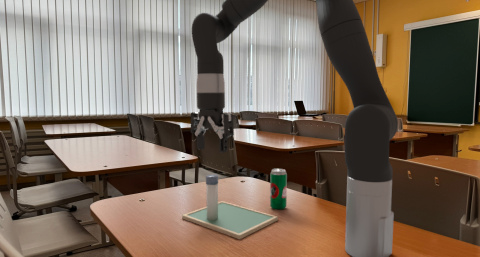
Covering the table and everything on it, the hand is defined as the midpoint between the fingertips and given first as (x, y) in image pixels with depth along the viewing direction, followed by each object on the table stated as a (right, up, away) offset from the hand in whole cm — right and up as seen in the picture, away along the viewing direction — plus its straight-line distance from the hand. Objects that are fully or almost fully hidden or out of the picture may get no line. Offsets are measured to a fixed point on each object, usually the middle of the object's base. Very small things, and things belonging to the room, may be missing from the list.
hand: (211, 150), depth 94 cm
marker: (0, -19, +2) cm, 19 cm away
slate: (+5, -20, +3) cm, 20 cm away
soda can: (+20, -19, +13) cm, 30 cm away
